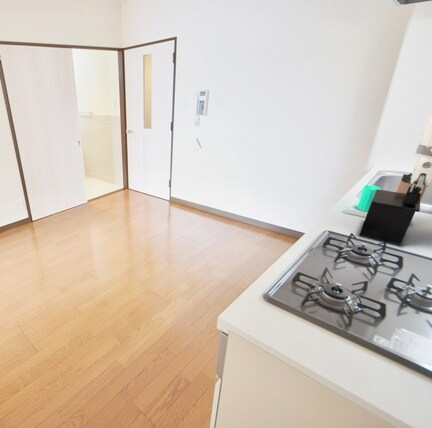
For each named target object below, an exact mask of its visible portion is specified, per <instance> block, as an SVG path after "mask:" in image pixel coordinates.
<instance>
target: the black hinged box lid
mask: <svg viewBox="0 0 432 428" xmlns="http://www.w3.org/2000/svg"><path fill="white" fill-rule="evenodd" d="M405 196H406V194H405V193H398V192H396V191H392V190H386V189H382V190H379V189H377V190H376V192H375V195H374V197H373V199H372V202H371V203H372V204H378V205H383V206H389V207H394V208H400V209H405V210H411V211H415V213H419V212H420V211H421V201H420V199H421V196H420V198H419V201H418V203H417V204H410V203H405V202H404V201H405V199H406V197H405ZM421 200H422V199H421Z"/></svg>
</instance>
